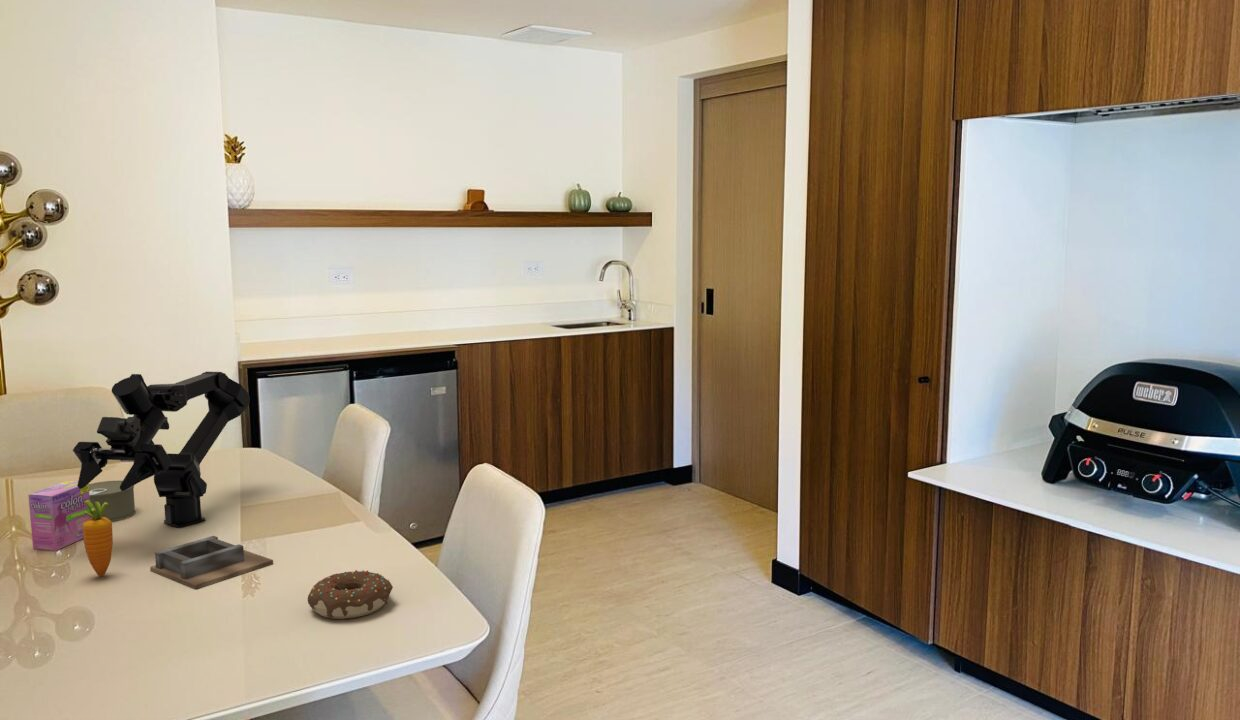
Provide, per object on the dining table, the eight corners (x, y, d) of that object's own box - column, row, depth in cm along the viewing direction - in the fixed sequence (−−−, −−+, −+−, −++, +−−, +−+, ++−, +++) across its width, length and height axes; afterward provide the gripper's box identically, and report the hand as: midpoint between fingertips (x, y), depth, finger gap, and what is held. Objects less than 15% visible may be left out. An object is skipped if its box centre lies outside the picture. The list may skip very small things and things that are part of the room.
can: (147, 509, 220) (145, 481, 219) (115, 525, 208) (112, 495, 207) (99, 508, 221) (96, 479, 220) (64, 524, 209) (61, 494, 208)
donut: (348, 630, 154) (346, 601, 153) (292, 612, 161) (291, 584, 160) (410, 601, 166) (409, 574, 165) (356, 585, 173) (355, 559, 172)
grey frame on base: (227, 547, 193) (226, 529, 192) (273, 563, 184) (272, 545, 183) (150, 570, 180) (148, 551, 180) (195, 589, 171) (194, 569, 170)
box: (56, 551, 191) (51, 495, 190) (32, 549, 192) (26, 493, 191) (94, 535, 201) (89, 481, 200) (71, 533, 202) (66, 480, 201)
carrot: (122, 574, 178) (115, 498, 176) (98, 583, 174) (91, 505, 172) (104, 570, 180) (98, 495, 178) (80, 579, 176) (73, 502, 174)
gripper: (82, 401, 191) (36, 459, 179) (165, 404, 188) (124, 462, 176) (107, 439, 198) (65, 496, 187) (187, 442, 195) (149, 500, 184)
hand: (100, 488), depth 183 cm, fingers open, 9 cm apart
